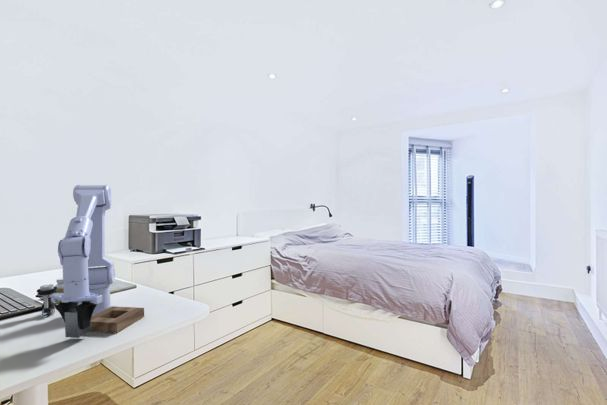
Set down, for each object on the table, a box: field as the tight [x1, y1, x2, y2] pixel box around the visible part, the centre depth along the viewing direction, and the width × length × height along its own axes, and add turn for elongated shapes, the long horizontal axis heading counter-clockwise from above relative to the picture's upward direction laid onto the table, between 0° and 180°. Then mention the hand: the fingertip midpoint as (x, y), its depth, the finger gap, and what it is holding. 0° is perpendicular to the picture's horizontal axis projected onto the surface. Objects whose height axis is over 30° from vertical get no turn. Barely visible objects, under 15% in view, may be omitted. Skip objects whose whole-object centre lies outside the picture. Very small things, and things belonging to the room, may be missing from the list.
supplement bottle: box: [54, 276, 64, 305], centre depth 116 cm, size 5×5×10 cm
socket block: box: [90, 305, 145, 334], centre depth 97 cm, size 12×12×3 cm
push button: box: [36, 283, 57, 319], centre depth 105 cm, size 7×5×10 cm
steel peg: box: [64, 308, 91, 339], centre depth 87 cm, size 4×4×7 cm
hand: (77, 327), depth 87 cm, fingers closed on steel peg, 4 cm apart
